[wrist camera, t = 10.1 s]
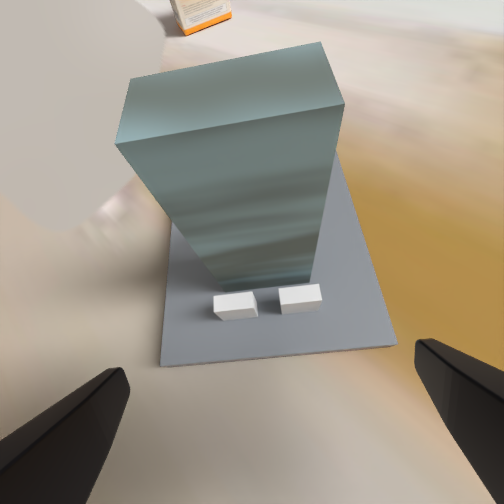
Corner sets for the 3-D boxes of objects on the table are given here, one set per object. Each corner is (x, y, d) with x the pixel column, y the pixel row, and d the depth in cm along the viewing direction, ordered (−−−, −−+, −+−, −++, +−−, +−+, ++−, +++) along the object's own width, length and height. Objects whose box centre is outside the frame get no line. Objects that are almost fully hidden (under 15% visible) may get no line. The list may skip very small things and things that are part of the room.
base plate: (389, 346, 17) (416, 338, 13) (169, 367, 18) (139, 364, 14) (326, 138, 26) (331, 100, 22) (183, 161, 27) (167, 129, 24)
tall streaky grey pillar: (309, 282, 18) (344, 103, 6) (225, 292, 18) (114, 143, 7) (300, 236, 19) (315, 28, 8) (224, 246, 20) (133, 64, 8)
